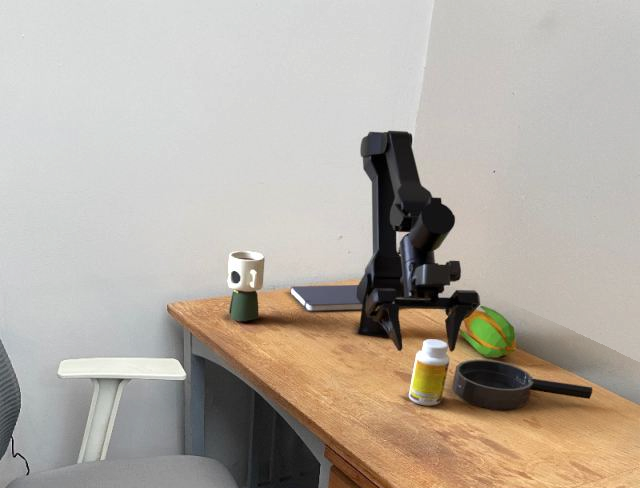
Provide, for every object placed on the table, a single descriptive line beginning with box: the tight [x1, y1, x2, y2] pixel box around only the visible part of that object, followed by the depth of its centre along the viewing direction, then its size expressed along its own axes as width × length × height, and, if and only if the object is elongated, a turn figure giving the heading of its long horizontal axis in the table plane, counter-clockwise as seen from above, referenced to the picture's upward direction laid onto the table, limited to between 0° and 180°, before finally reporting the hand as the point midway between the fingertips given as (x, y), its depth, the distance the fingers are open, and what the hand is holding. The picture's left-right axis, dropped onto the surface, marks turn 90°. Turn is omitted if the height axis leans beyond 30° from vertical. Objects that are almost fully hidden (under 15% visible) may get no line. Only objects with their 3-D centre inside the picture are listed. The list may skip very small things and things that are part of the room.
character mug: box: [227, 250, 266, 322], centre depth 158 cm, size 11×7×13 cm, turn 22°
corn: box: [459, 305, 517, 359], centre depth 155 cm, size 7×8×20 cm
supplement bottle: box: [408, 338, 450, 407], centre depth 131 cm, size 6×6×10 cm
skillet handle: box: [531, 377, 593, 400], centre depth 134 cm, size 10×2×2 cm, turn 77°
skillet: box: [451, 359, 534, 411], centre depth 136 cm, size 13×13×4 cm
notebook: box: [289, 284, 362, 312], centre depth 176 cm, size 13×2×21 cm
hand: (426, 350), depth 132 cm, fingers open, 9 cm apart
